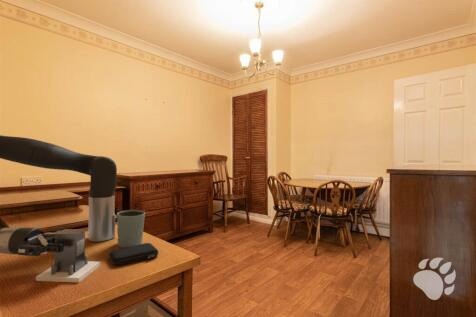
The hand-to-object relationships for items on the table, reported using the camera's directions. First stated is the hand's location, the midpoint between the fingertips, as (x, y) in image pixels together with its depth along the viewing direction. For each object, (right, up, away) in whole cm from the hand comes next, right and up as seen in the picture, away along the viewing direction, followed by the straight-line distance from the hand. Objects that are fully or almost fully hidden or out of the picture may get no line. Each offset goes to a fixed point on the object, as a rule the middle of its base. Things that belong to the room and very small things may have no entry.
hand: (73, 242), depth 72 cm
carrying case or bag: (+13, -10, +12) cm, 20 cm away
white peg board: (-1, -9, 0) cm, 9 cm away
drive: (-1, -8, 0) cm, 8 cm away
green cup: (+6, -9, +24) cm, 26 cm away
